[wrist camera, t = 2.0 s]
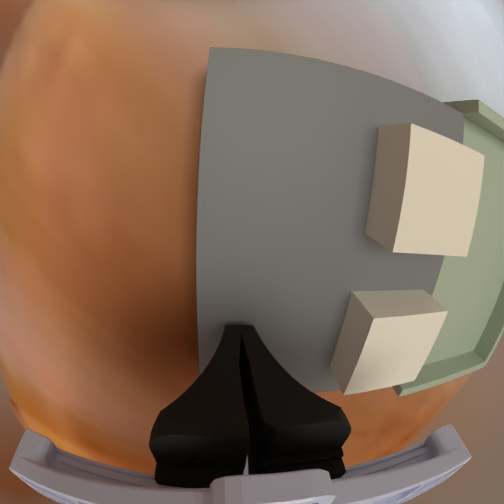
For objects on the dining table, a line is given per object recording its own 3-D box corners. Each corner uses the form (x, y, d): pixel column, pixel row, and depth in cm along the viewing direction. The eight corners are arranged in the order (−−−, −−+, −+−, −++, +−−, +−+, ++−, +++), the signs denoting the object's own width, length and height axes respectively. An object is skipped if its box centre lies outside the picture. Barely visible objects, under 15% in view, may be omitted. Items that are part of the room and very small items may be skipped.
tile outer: (437, 240, 12) (466, 256, 10) (364, 233, 12) (392, 252, 9) (451, 151, 11) (484, 155, 8) (378, 126, 10) (411, 123, 8)
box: (464, 344, 20) (484, 366, 17) (378, 363, 19) (398, 396, 15) (515, 151, 14) (547, 158, 10) (435, 103, 12) (478, 99, 9)
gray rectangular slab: (379, 354, 19) (395, 379, 16) (203, 362, 17) (201, 394, 15) (432, 115, 13) (463, 114, 10) (213, 68, 11) (210, 47, 8)
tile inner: (397, 356, 15) (414, 380, 13) (330, 365, 15) (343, 395, 12) (423, 289, 13) (448, 310, 11) (351, 291, 13) (373, 318, 10)
